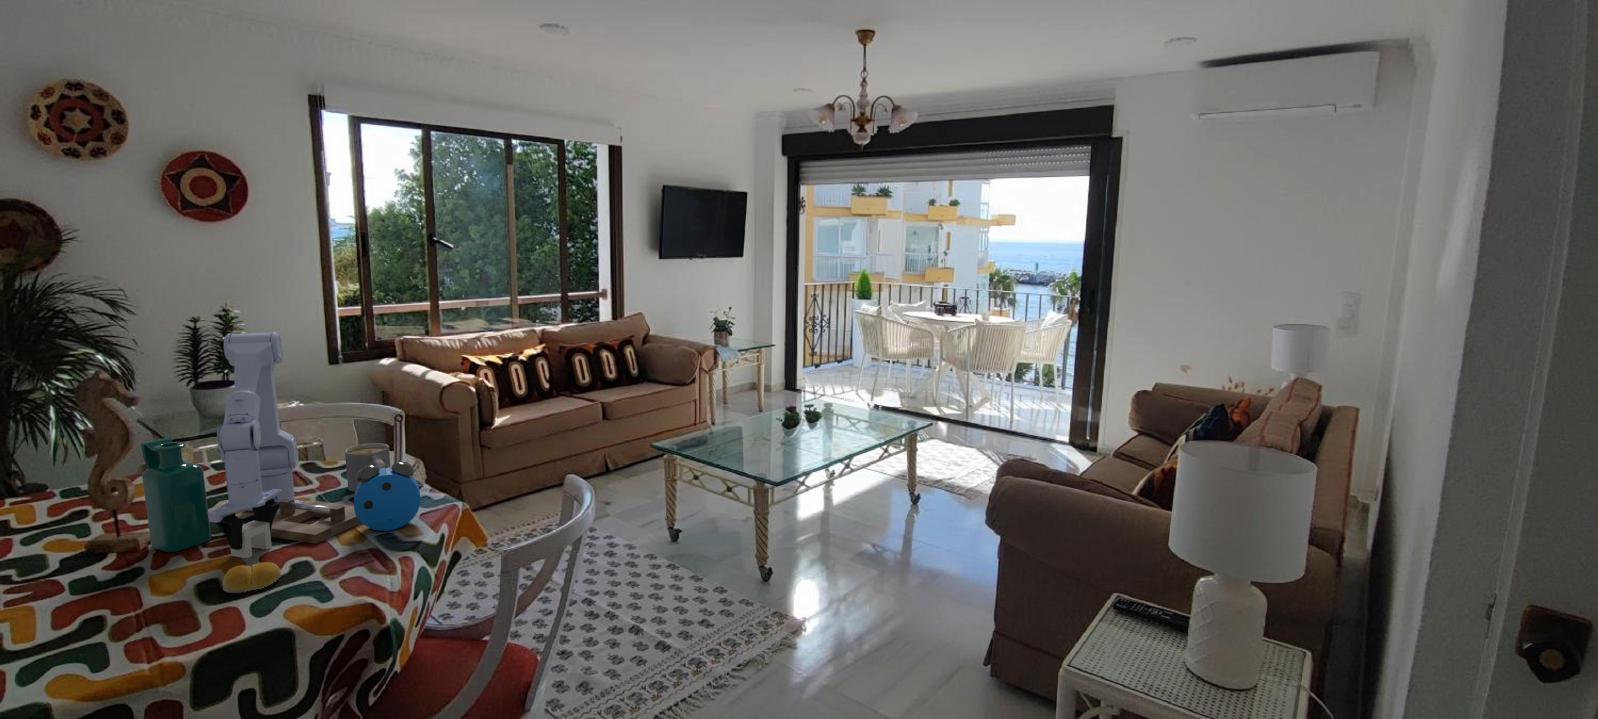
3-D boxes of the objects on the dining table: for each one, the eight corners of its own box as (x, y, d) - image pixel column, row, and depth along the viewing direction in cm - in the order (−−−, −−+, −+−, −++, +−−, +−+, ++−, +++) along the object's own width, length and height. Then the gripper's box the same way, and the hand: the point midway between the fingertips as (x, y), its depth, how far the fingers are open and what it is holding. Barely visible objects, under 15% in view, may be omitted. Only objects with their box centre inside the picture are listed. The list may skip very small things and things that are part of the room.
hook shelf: (249, 533, 168) (246, 511, 167) (311, 508, 183) (309, 488, 182) (315, 543, 163) (313, 521, 162) (374, 516, 179) (372, 496, 178)
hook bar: (284, 508, 174) (284, 502, 173) (290, 506, 175) (289, 500, 175) (335, 515, 170) (334, 509, 170) (340, 513, 172) (339, 507, 171)
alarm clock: (421, 517, 179) (417, 456, 176) (422, 527, 173) (418, 463, 171) (356, 527, 172) (351, 463, 170) (356, 537, 167) (350, 471, 164)
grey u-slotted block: (231, 555, 157) (228, 530, 156) (256, 544, 162) (254, 520, 161) (246, 558, 156) (243, 532, 155) (271, 547, 161) (269, 522, 160)
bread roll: (281, 587, 145) (279, 567, 144) (222, 598, 140) (219, 578, 139) (281, 570, 151) (279, 551, 151) (225, 580, 146) (223, 561, 146)
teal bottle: (215, 539, 164) (204, 441, 160) (170, 554, 156) (156, 451, 153) (189, 531, 168) (177, 434, 164) (143, 545, 161) (130, 444, 157)
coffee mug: (344, 484, 200) (341, 447, 198) (386, 476, 206) (384, 441, 204) (355, 498, 190) (351, 459, 188) (398, 490, 196) (396, 452, 194)
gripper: (225, 493, 148) (232, 559, 151) (291, 471, 162) (297, 531, 164) (196, 490, 150) (204, 555, 152) (264, 468, 164) (270, 527, 166)
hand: (250, 542), depth 159 cm, fingers closed on grey u-slotted block, 6 cm apart
